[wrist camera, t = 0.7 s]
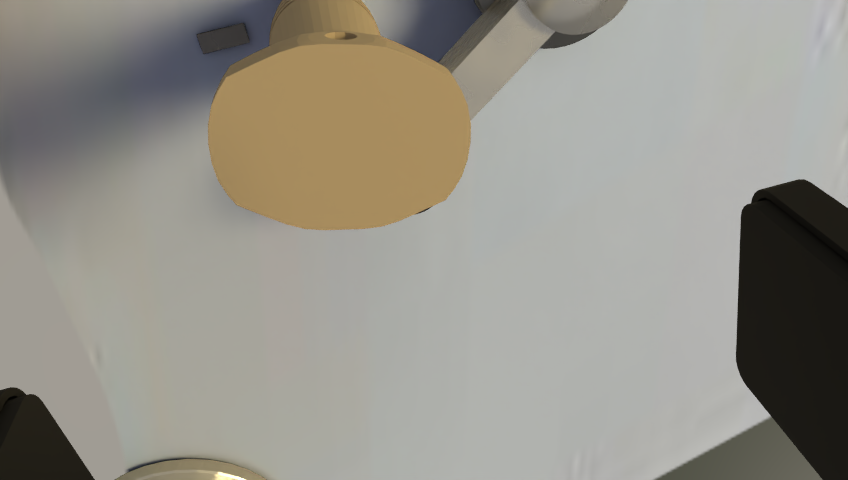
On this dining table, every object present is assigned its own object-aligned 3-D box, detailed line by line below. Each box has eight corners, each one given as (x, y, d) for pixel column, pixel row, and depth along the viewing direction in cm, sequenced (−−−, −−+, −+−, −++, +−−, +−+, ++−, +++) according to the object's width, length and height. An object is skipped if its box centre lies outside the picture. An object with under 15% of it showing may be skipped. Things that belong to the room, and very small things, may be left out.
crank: (562, -120, 28) (610, -113, 24) (629, -40, 30) (684, -20, 26) (339, 131, 31) (346, 175, 27) (411, 188, 33) (428, 238, 29)
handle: (238, -50, 29) (198, 42, 16) (396, -44, 30) (479, 46, 17) (246, 69, 31) (217, 232, 18) (392, 70, 32) (462, 225, 19)
